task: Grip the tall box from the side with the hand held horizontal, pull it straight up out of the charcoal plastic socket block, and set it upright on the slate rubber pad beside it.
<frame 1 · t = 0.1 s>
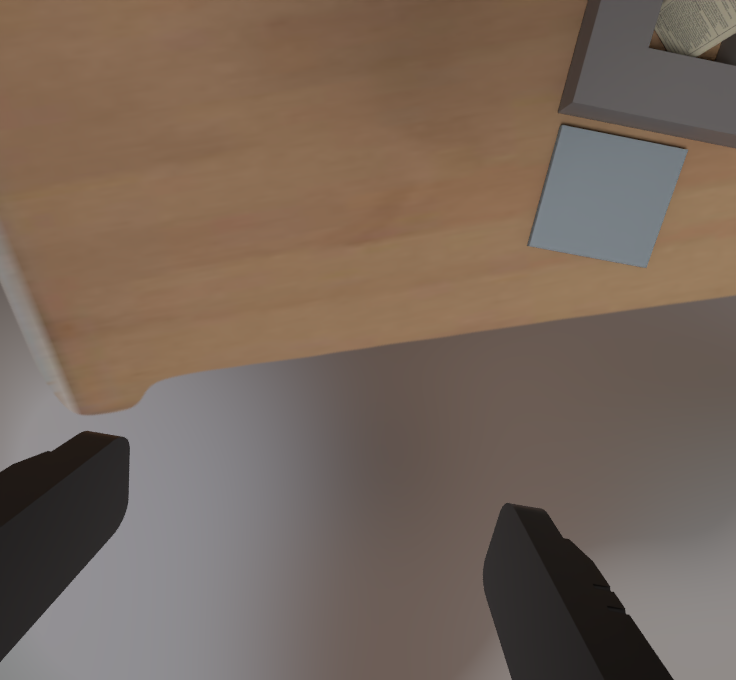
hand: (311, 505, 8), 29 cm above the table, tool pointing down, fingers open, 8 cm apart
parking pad: (602, 199, 34), on the table
box: (681, 23, 31), resting in socket block
socket block: (684, 22, 31), on the table
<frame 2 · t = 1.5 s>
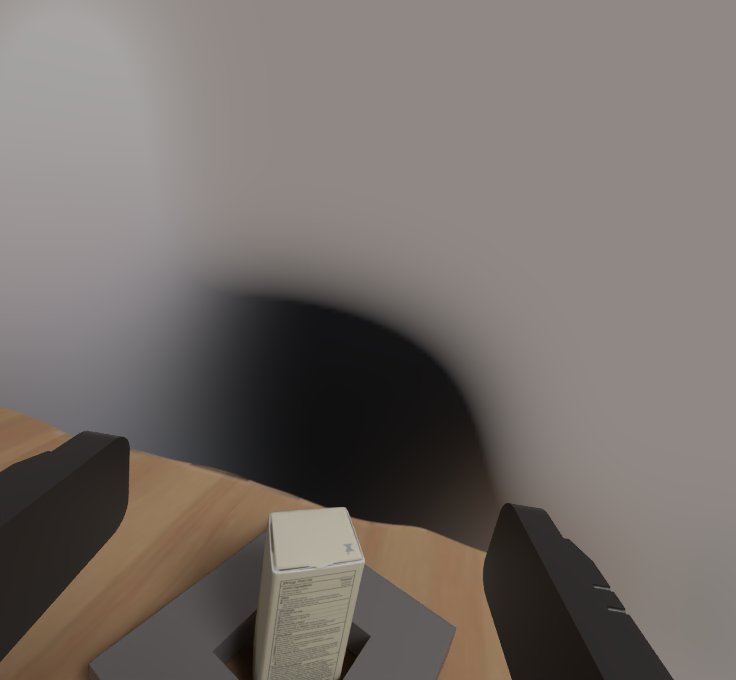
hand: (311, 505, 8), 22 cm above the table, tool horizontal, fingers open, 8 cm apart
box: (290, 674, 25), resting in socket block
socket block: (290, 671, 25), on the table
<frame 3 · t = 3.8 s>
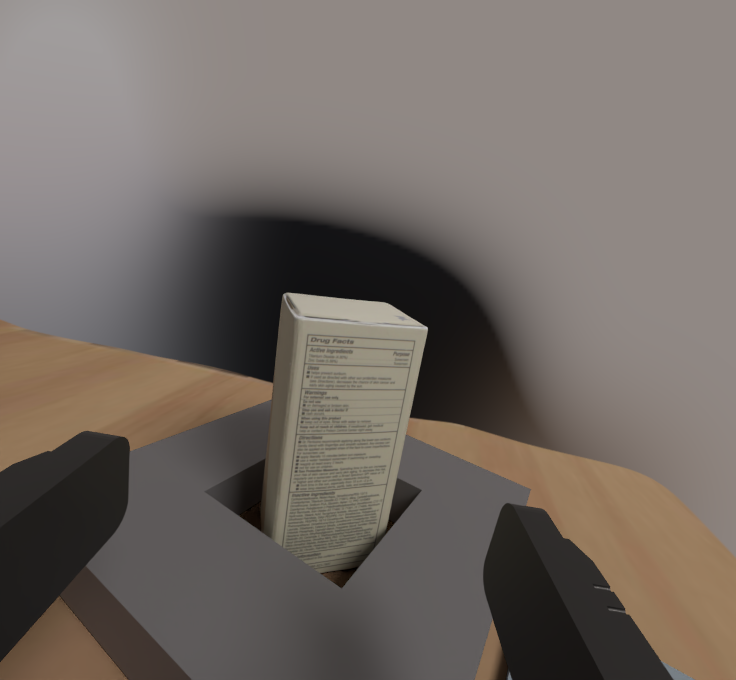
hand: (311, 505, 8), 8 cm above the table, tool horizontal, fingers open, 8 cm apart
box: (313, 540, 18), resting in socket block
socket block: (313, 536, 18), on the table
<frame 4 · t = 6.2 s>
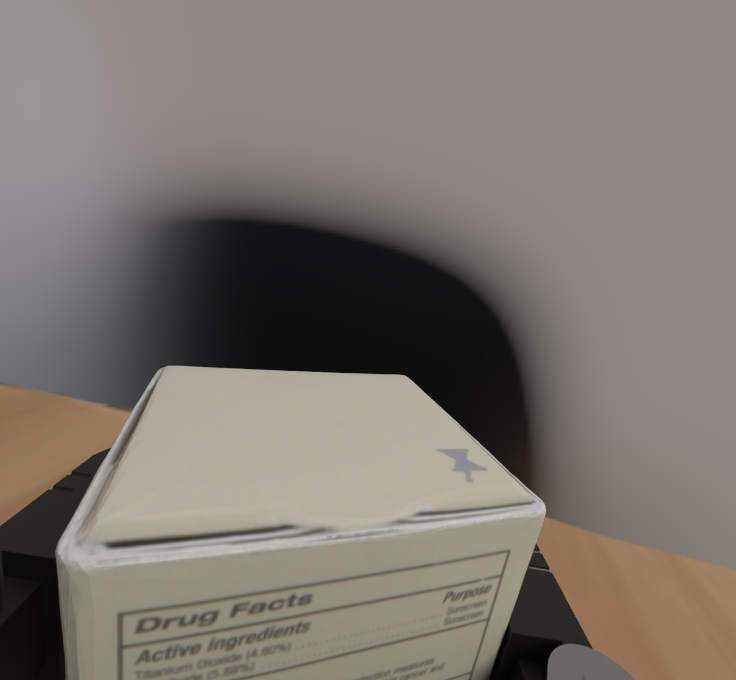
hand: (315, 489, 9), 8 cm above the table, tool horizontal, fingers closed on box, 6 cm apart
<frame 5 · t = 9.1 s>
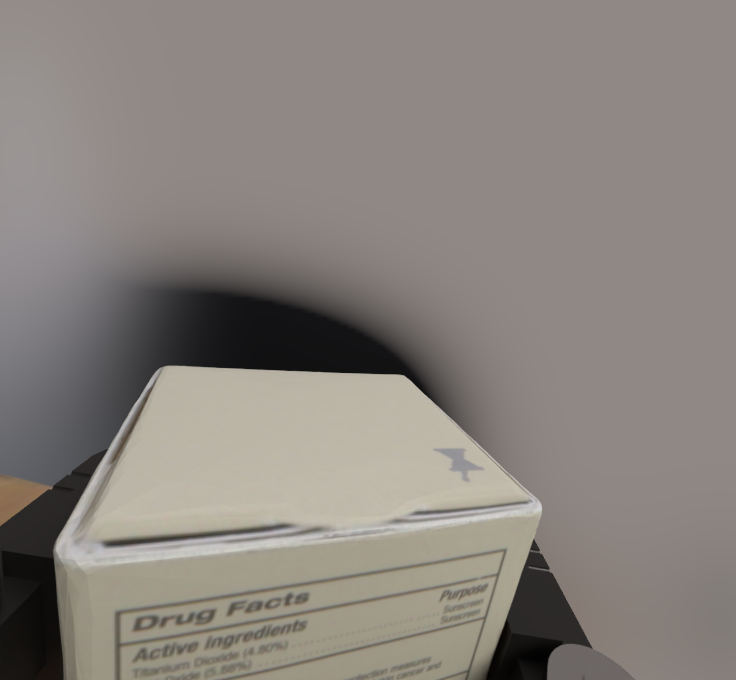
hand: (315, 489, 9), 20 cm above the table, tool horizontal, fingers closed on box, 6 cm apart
when the fingers open (10 cm above the table, at t = 12.0 s): box drops 1 cm, resting on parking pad.
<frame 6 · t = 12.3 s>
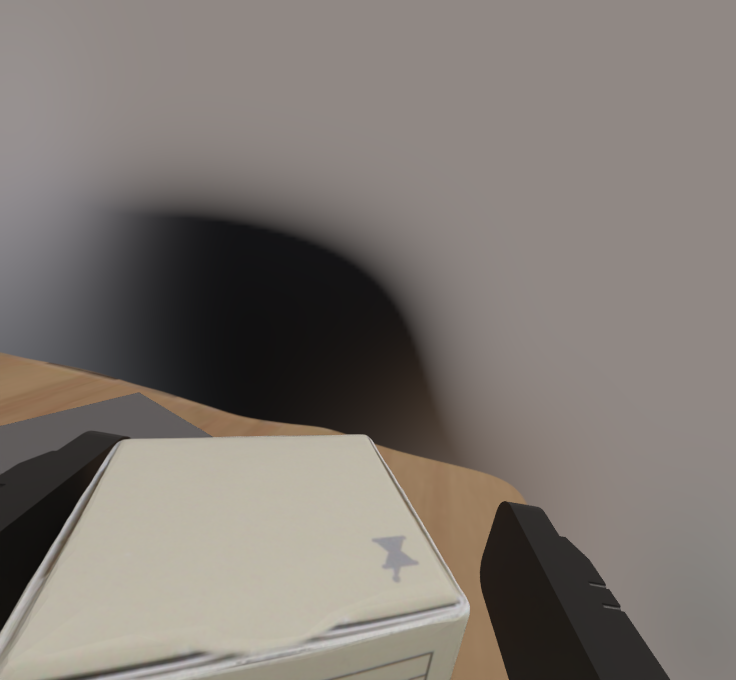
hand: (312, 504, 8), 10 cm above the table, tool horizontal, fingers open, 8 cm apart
socket block: (56, 550, 17), on the table
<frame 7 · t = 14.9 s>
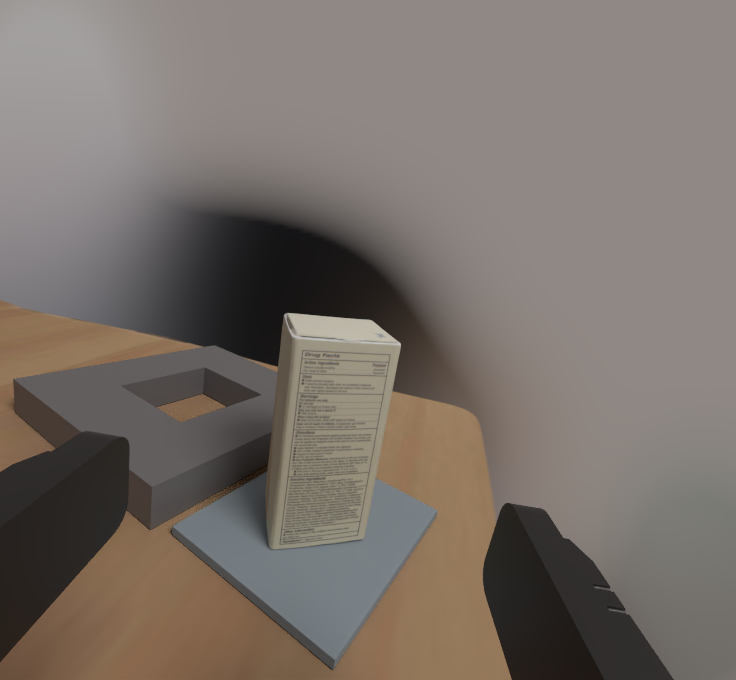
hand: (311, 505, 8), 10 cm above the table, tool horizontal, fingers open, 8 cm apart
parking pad: (318, 524, 21), on the table
box: (309, 520, 21), resting on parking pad
socket block: (192, 420, 30), on the table
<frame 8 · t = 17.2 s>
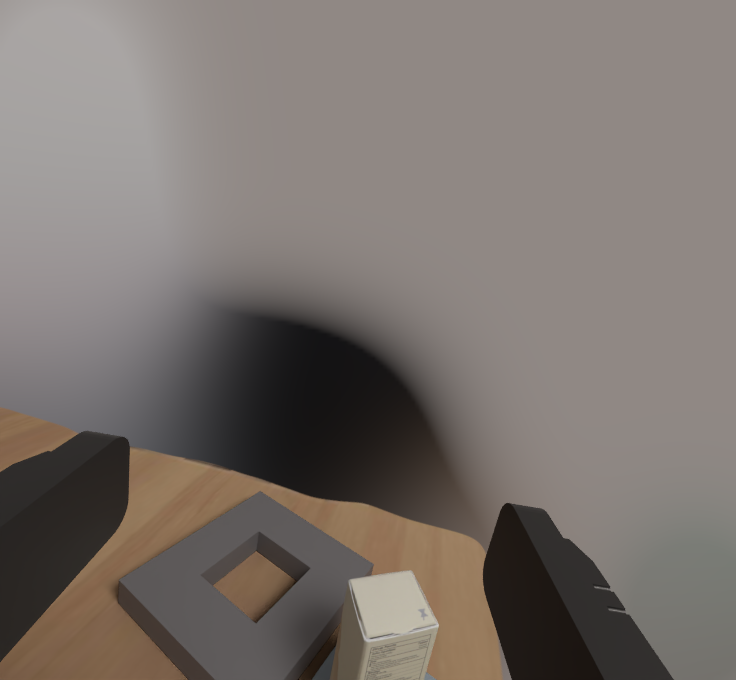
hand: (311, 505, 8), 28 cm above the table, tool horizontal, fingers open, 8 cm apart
socket block: (254, 592, 36), on the table
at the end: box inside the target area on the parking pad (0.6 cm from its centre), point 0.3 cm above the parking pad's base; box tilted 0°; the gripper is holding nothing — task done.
